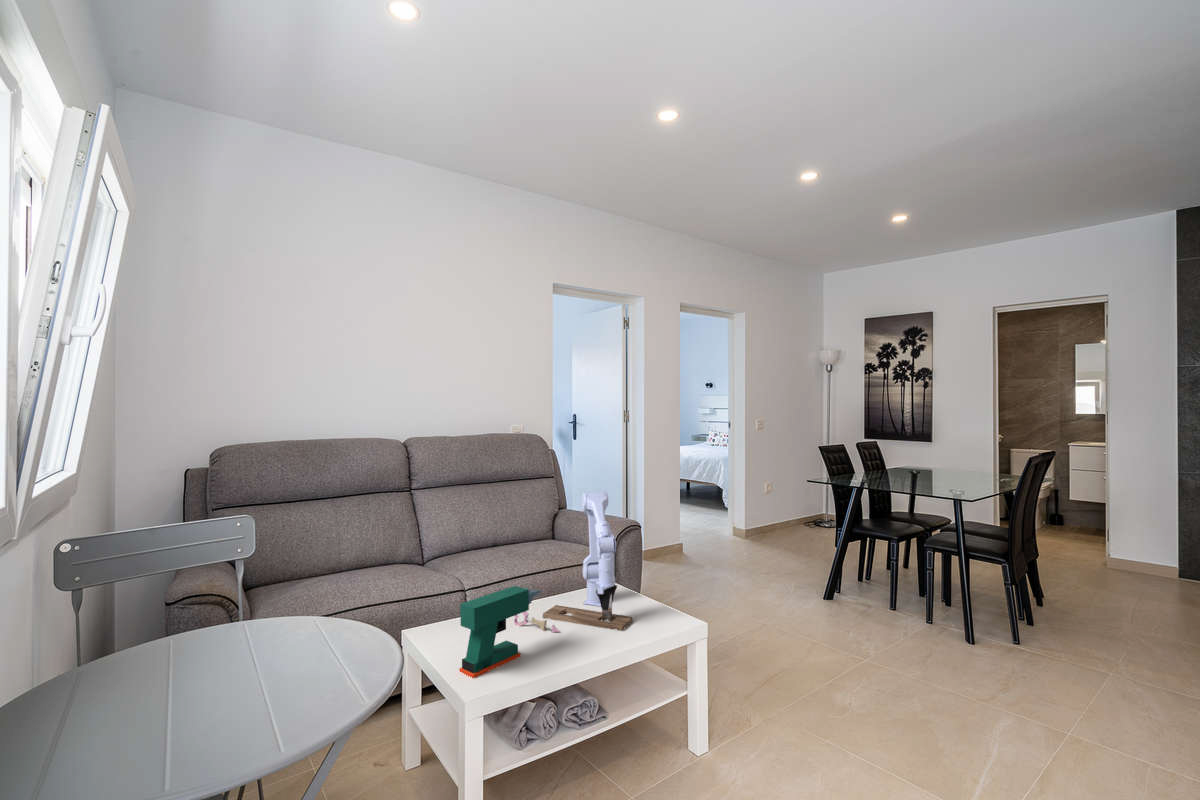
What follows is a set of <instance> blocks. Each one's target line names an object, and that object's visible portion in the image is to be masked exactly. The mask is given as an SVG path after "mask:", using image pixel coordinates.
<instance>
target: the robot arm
mask: <svg viewBox="0 0 1200 800" xmlns="http://www.w3.org/2000/svg"><path fill="white" fill-rule="evenodd" d="M581 497H582V498H581V504H582V512H583V513H585V514H586V515H587V519H588V520H587V521H588V544H589V548H588V549H589V554H588V555H587V556H586V557H585V558H584V560H583V561H582V576H583V579H584V580H585V581H586V600H585V601H583V602H582V603H583V604H584V605H590V606H597V607H600V608H601V611H602V610H608V608H609V600H610V596H611V594H612V603H613V601H614V597H615V593H616V591H617V588H618V584H617V585H616V577H615V553H616V551H617V541H616V538H615V536H614V534H612V528H611V524H610V522H608V521H607V518H606V509H607V508H608V507H609V496H608V493H607V491H600V492H599V491H595V492H594V491H592V492H591V491H590V492H583V493H582V496H581Z"/></svg>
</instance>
